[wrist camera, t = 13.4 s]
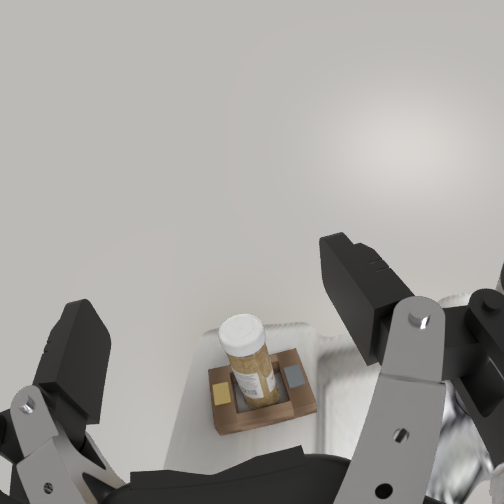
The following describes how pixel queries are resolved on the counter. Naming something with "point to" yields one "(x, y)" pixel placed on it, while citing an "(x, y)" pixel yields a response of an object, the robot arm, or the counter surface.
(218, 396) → the brass tag
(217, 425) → the socket block
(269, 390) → the sprinkles bottle
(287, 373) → the slate tag
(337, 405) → the counter surface
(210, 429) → the counter surface
